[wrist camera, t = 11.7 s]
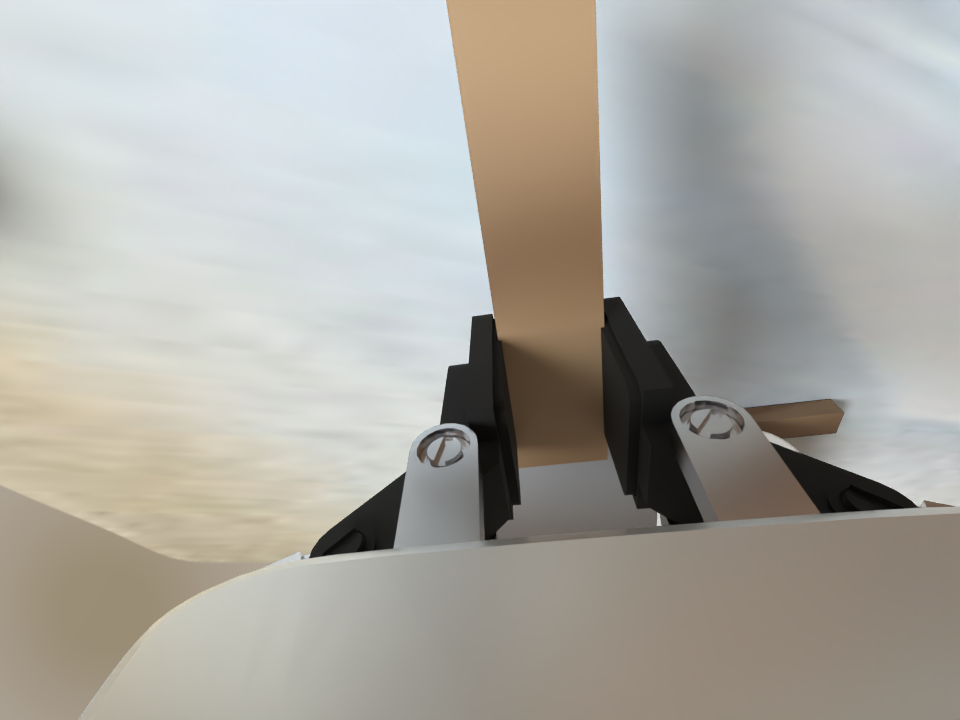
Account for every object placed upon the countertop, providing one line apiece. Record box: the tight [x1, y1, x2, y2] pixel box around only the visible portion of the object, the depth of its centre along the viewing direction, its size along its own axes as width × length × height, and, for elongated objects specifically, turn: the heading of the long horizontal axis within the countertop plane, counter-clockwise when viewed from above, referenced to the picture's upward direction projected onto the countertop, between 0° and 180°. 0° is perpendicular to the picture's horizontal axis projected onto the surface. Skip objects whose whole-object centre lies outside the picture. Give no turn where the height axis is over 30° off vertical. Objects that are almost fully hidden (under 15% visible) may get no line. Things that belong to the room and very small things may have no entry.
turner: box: [446, 0, 657, 539], centre depth 11 cm, size 18×6×3 cm, turn 9°
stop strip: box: [744, 399, 844, 439], centre depth 26 cm, size 2×10×1 cm, turn 99°
